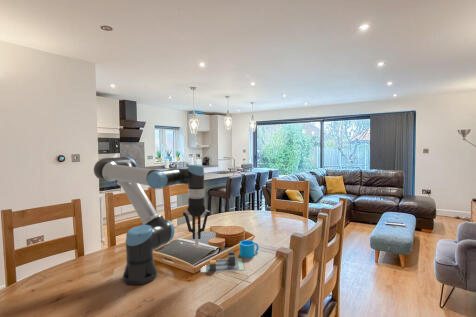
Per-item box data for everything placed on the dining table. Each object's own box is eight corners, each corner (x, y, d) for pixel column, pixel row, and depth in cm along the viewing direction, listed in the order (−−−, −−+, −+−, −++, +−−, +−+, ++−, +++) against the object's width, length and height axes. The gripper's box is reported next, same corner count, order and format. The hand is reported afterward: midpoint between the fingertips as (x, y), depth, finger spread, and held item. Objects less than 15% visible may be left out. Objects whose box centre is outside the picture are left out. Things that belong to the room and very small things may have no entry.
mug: (245, 261, 141) (245, 246, 141) (236, 256, 148) (236, 242, 147) (262, 256, 148) (262, 242, 147) (253, 251, 155) (253, 237, 154)
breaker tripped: (209, 270, 127) (209, 262, 127) (209, 268, 130) (209, 260, 129) (216, 270, 128) (215, 262, 127) (215, 268, 130) (215, 260, 130)
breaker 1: (228, 260, 138) (228, 253, 138) (228, 258, 141) (228, 251, 140) (234, 260, 139) (234, 252, 138) (233, 258, 141) (233, 250, 141)
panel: (199, 275, 126) (199, 272, 126) (200, 262, 140) (200, 259, 140) (245, 273, 128) (245, 270, 128) (242, 260, 142) (242, 257, 142)
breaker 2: (229, 265, 133) (229, 257, 133) (228, 262, 136) (228, 255, 135) (235, 264, 134) (235, 256, 133) (234, 262, 136) (234, 254, 136)
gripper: (181, 199, 122) (182, 249, 123) (210, 198, 123) (210, 248, 124) (183, 195, 129) (183, 243, 130) (210, 195, 130) (210, 242, 132)
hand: (196, 245), depth 127 cm, fingers closed
